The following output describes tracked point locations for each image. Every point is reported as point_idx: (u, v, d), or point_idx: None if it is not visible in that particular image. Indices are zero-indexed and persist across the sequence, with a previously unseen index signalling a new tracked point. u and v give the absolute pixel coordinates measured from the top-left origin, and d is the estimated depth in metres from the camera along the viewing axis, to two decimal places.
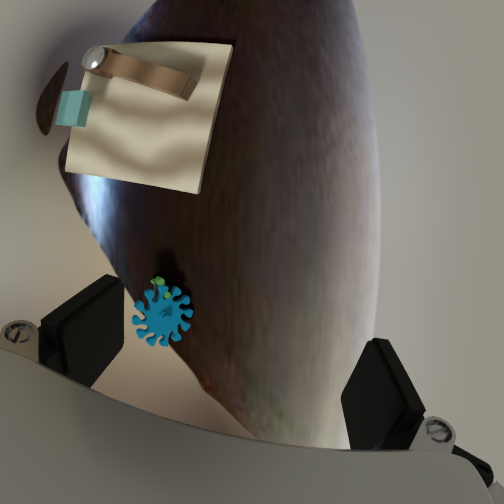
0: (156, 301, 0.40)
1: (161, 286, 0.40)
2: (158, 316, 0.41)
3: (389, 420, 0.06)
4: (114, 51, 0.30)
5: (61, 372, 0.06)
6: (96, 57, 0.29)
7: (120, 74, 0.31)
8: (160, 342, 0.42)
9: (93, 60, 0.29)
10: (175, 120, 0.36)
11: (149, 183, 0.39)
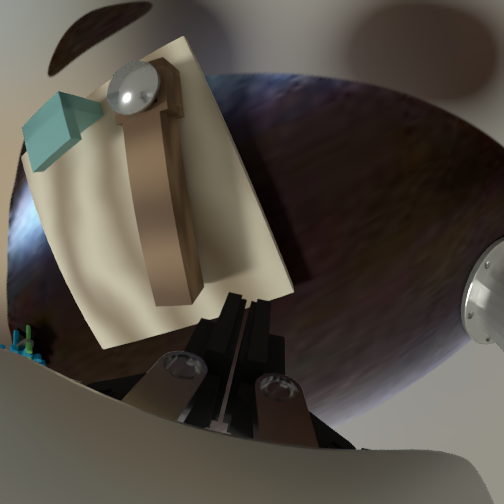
0: None
1: (27, 353, 0.28)
2: None
3: None
4: (168, 111, 0.18)
5: (215, 396, 0.07)
6: (131, 99, 0.16)
7: (130, 173, 0.19)
8: None
9: (125, 96, 0.16)
10: (143, 284, 0.25)
11: (72, 291, 0.27)
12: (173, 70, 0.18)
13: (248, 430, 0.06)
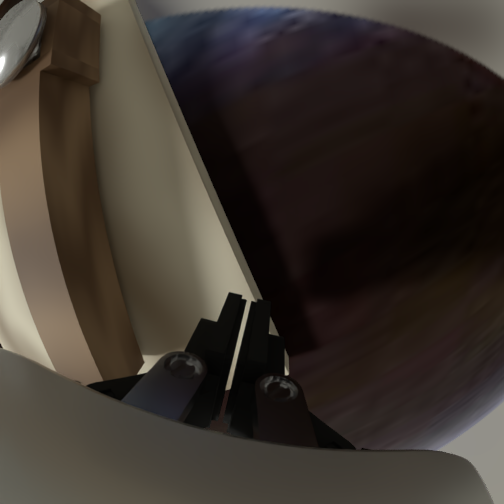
0: None
1: None
2: None
3: None
4: (57, 70, 0.07)
5: (215, 396, 0.07)
6: (0, 60, 0.06)
7: (2, 185, 0.08)
8: None
9: None
10: None
11: None
12: (84, 11, 0.08)
13: (248, 429, 0.06)
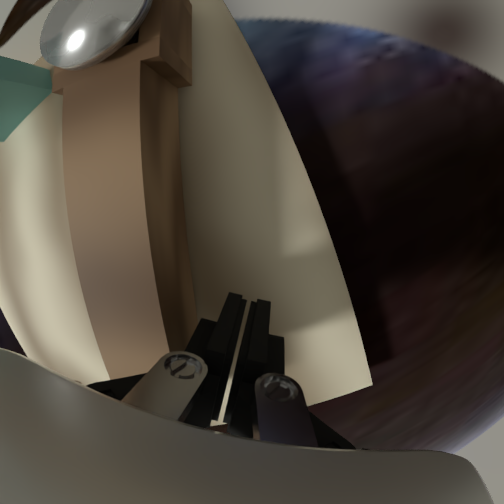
0: None
1: None
2: None
3: None
4: (160, 64, 0.07)
5: (215, 396, 0.07)
6: (83, 32, 0.05)
7: (69, 197, 0.08)
8: None
9: (72, 30, 0.05)
10: None
11: None
12: None
13: (248, 429, 0.06)
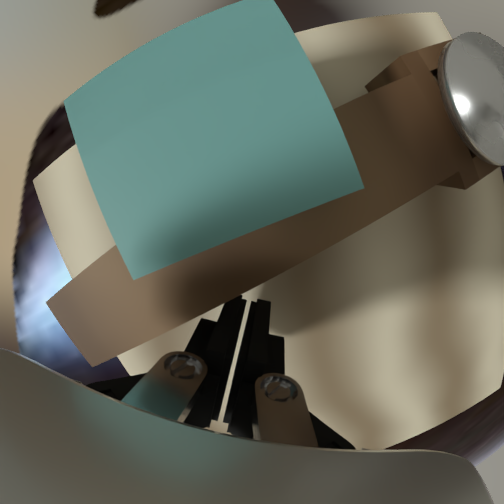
0: None
1: None
2: None
3: None
4: (451, 181, 0.07)
5: (215, 396, 0.07)
6: None
7: None
8: None
9: (493, 113, 0.05)
10: (335, 421, 0.14)
11: None
12: None
13: (248, 430, 0.06)
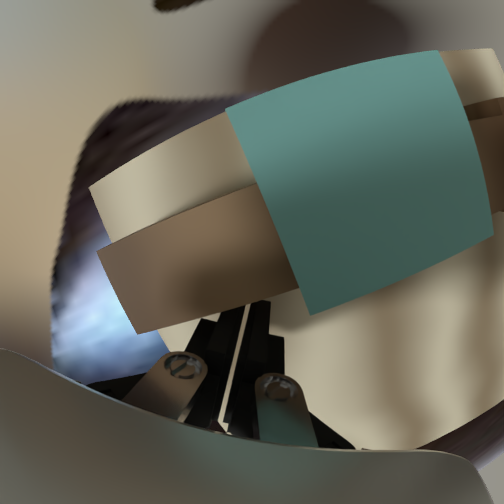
0: None
1: None
2: None
3: None
4: None
5: (215, 397, 0.07)
6: None
7: None
8: None
9: None
10: (390, 421, 0.14)
11: None
12: None
13: (248, 429, 0.06)
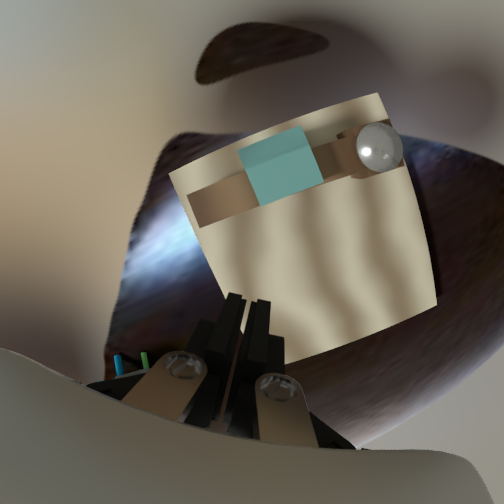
0: None
1: None
2: None
3: None
4: (358, 176, 0.22)
5: (215, 396, 0.07)
6: (382, 159, 0.20)
7: None
8: None
9: (375, 154, 0.20)
10: (328, 308, 0.29)
11: None
12: None
13: (248, 429, 0.06)
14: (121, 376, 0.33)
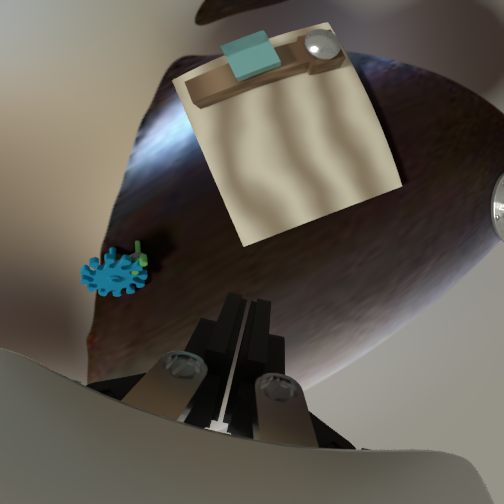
0: (123, 268, 0.36)
1: (139, 265, 0.37)
2: (111, 276, 0.36)
3: None
4: (310, 66, 0.27)
5: (215, 396, 0.07)
6: (324, 50, 0.25)
7: None
8: (89, 285, 0.37)
9: (319, 47, 0.25)
10: (299, 179, 0.34)
11: (222, 192, 0.35)
12: (338, 64, 0.28)
13: (248, 430, 0.06)
14: (113, 263, 0.38)
